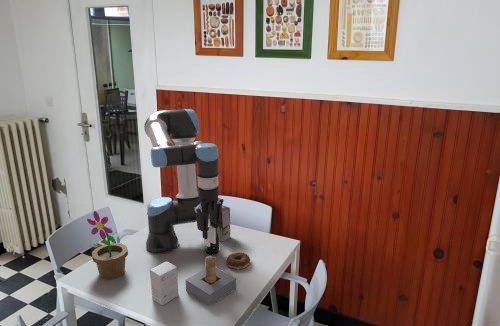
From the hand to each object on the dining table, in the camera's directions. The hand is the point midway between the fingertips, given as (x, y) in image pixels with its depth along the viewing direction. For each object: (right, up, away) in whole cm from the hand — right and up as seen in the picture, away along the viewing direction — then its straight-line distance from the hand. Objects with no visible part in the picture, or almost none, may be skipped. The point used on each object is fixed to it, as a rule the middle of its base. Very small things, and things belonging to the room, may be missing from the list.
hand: (209, 243), depth 147 cm
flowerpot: (-43, -16, +17) cm, 49 cm away
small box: (-17, -21, +2) cm, 27 cm away
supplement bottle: (-3, -11, +34) cm, 36 cm away
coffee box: (0, -7, +48) cm, 49 cm away
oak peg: (0, -20, +6) cm, 20 cm away
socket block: (0, -20, +6) cm, 20 cm away
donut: (+10, -14, +24) cm, 30 cm away
